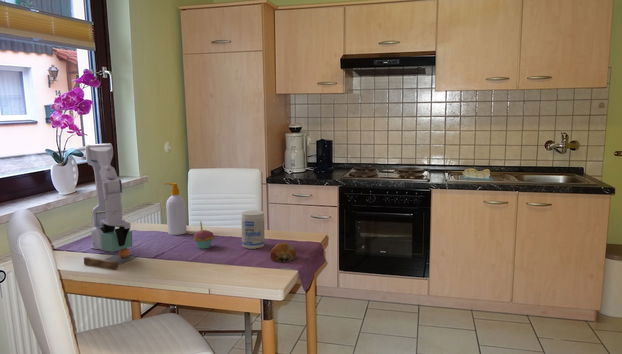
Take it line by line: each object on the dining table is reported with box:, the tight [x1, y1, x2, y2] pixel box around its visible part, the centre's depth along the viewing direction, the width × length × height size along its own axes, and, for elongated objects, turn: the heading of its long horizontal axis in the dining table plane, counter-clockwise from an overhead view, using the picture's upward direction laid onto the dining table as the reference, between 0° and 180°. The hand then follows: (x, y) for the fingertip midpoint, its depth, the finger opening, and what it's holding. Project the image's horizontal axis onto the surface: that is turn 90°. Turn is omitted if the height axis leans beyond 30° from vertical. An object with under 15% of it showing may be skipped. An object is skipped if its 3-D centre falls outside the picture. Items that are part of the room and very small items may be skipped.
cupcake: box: [193, 220, 215, 249], centre depth 199 cm, size 9×8×12 cm
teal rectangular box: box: [101, 229, 133, 253], centre depth 183 cm, size 6×10×6 cm, turn 153°
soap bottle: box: [164, 182, 188, 236], centre depth 221 cm, size 9×9×24 cm
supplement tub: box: [241, 209, 265, 250], centre depth 199 cm, size 10×10×15 cm
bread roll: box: [270, 242, 297, 263], centre depth 184 cm, size 10×10×8 cm
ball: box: [118, 247, 130, 258], centre depth 186 cm, size 4×4×4 cm
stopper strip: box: [83, 256, 119, 270], centre depth 176 cm, size 16×1×2 cm, turn 66°
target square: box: [103, 253, 138, 266], centre depth 184 cm, size 10×10×1 cm
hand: (116, 244), depth 183 cm, fingers closed on teal rectangular box, 6 cm apart
